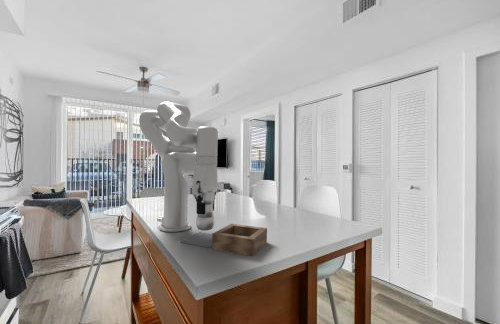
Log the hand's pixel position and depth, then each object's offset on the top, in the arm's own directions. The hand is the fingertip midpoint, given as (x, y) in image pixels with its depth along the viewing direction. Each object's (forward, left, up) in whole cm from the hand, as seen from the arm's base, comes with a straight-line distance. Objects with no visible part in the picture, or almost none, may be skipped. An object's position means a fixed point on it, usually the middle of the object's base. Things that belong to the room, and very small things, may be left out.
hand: (205, 211), depth 86 cm
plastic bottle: (0, 0, -7) cm, 7 cm away
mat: (0, 0, -10) cm, 10 cm away
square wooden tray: (+14, 0, -10) cm, 17 cm away
